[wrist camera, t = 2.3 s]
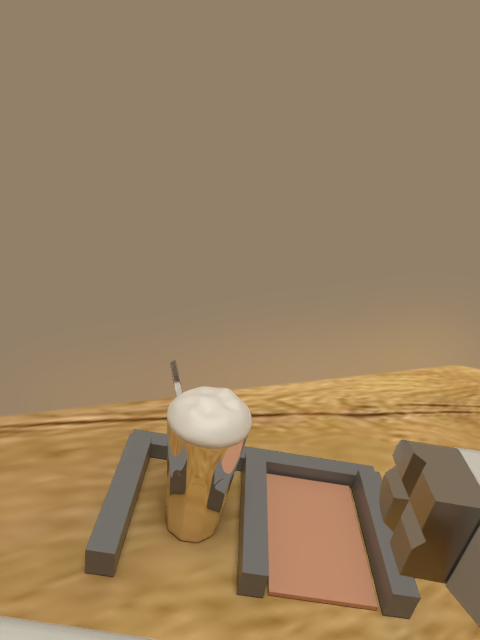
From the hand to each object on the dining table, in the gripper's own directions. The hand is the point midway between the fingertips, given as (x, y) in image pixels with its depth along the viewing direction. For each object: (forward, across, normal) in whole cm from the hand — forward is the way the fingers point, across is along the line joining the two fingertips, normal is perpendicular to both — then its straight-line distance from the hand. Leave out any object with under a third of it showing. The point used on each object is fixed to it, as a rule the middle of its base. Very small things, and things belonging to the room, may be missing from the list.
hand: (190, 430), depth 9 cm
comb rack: (+13, -4, +17) cm, 22 cm away
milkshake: (+13, 0, +18) cm, 22 cm away
